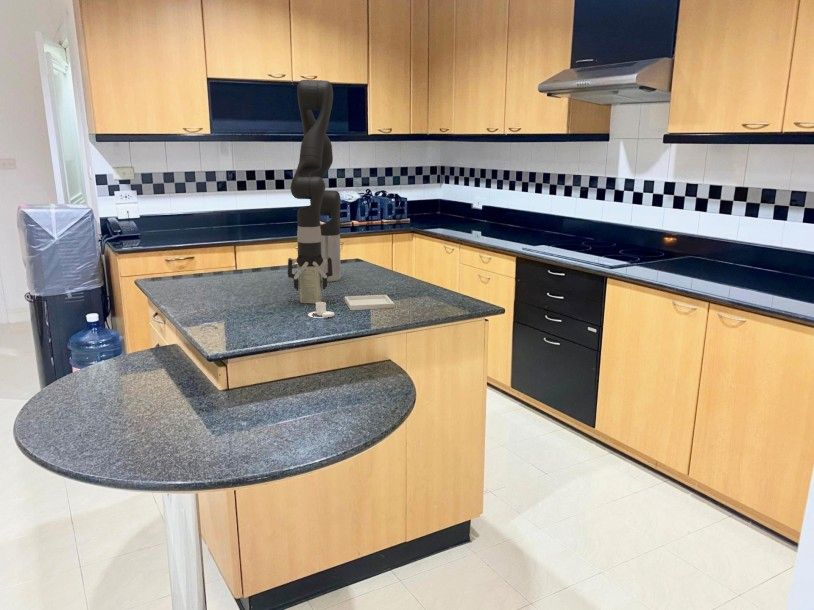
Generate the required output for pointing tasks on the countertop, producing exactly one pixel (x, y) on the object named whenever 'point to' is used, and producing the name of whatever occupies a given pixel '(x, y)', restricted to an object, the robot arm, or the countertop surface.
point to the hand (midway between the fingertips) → (310, 289)
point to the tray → (369, 302)
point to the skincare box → (310, 285)
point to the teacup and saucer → (321, 311)
